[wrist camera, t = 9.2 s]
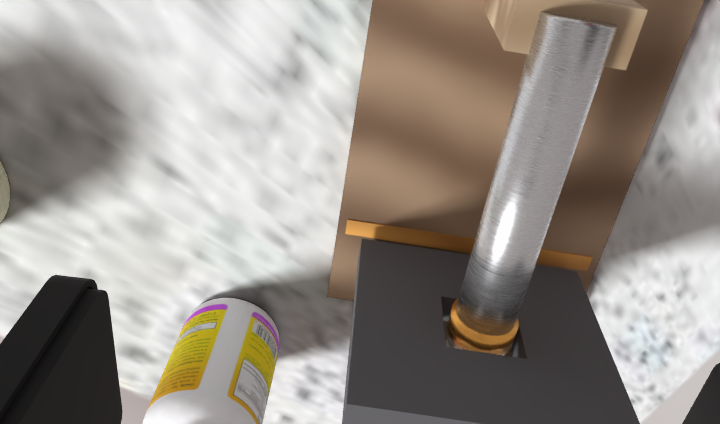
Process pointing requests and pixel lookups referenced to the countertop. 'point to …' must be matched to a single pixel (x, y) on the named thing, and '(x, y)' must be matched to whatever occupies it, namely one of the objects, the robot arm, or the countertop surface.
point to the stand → (492, 124)
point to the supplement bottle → (218, 367)
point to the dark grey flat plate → (471, 368)
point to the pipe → (528, 178)
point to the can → (4, 193)
